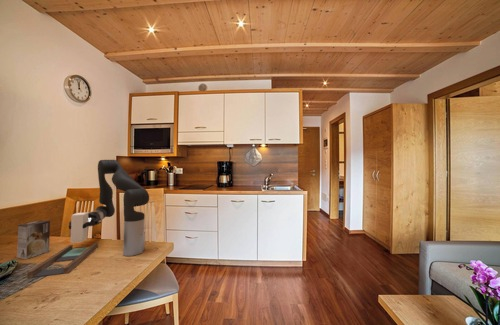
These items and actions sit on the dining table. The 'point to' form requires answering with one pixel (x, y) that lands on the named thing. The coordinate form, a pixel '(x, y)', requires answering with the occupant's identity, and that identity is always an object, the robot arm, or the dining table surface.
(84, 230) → the cream block
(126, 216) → the robot arm
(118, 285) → the dining table surface
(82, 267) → the dining table surface
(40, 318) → the dining table surface
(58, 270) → the grey base plate
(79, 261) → the frame
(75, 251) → the pad
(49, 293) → the dining table surface
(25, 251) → the coffee box
